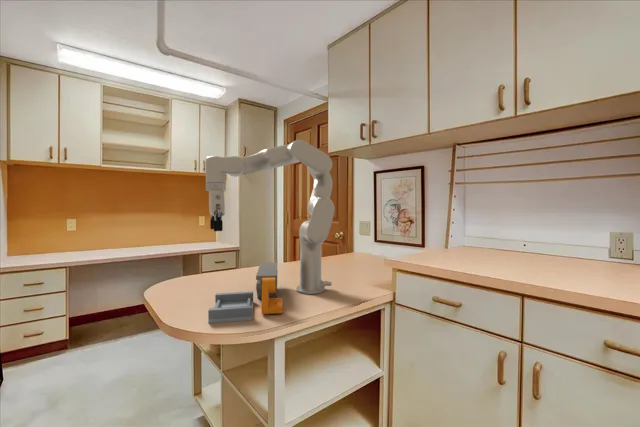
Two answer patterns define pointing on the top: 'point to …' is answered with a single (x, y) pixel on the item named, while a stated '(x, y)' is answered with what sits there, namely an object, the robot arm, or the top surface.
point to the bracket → (270, 303)
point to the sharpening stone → (266, 272)
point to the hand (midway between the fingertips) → (216, 229)
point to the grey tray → (231, 307)
